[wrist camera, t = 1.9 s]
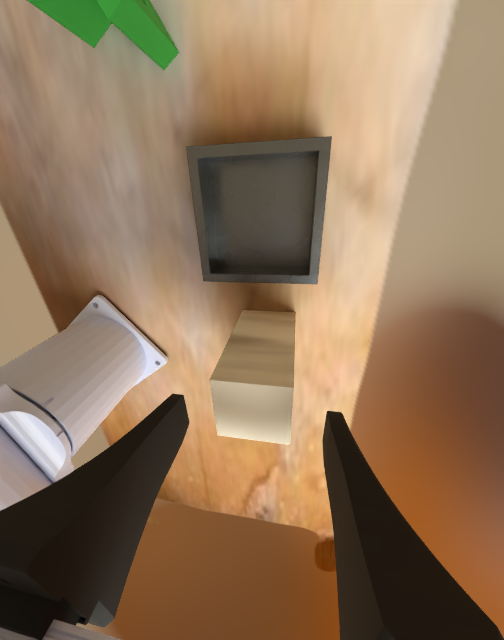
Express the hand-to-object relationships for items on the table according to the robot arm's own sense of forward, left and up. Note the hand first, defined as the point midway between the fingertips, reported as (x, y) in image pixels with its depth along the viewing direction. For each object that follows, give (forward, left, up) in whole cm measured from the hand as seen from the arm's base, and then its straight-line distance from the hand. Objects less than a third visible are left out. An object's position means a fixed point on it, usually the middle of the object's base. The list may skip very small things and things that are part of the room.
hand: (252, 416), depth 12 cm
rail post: (0, 0, -8) cm, 8 cm away
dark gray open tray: (+5, +7, -8) cm, 12 cm away
